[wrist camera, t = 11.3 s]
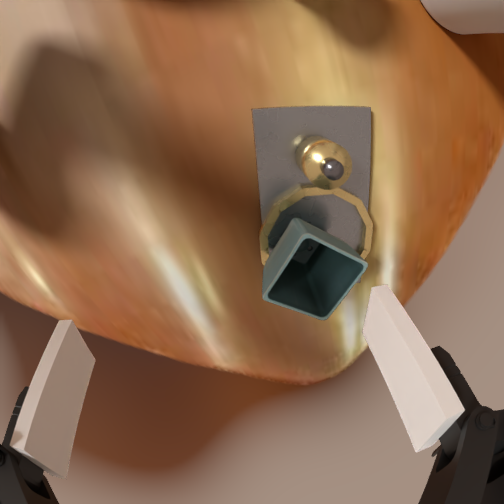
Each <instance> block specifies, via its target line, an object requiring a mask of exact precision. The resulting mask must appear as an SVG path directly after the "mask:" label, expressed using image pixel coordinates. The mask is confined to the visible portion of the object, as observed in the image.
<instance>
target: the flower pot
mask: <svg viewBox="0 0 504 504" xmlns="http://www.w3.org/2000/svg"><path fill="white" fill-rule="evenodd" d="M308 247H311V249H310V250H308ZM367 267H368V263H367V262H366V261H365V260H364V259H363V258H362V257H361V256H360V255H359V254H358V253H357V252H356V251H355V250H354V249H353V248H352V247H351V246H349V245H348V244H347V243H346V242H344V241H342V240H341V239H339V238H337V237H335V236H333V235H331V234H329V233H327V232H325V231H323V230H321V229H319V228H317V227H315V226H313V225H311V224H309V223H307V222H305V221H303V220H301V219H300V218H293V219H292V220H291V221H290V223H289V225H288V226H287V228H286V230H285V231H284V233H283V235H282V236H281V238H280V239H279V241H278V243H277V244H276V246H275V248H274V249H273V251H272V252H271V254H270V255H269V257H268V259H267V261H266V263H265V266H264V270H263V286H262V298H263V300H265V301H267V302H270V303H273V304H276V305H279V306H282V307H285V308H288V309H291V310H294V311H297V312H300V313H302V314H305V315H308V316H311V317H314V318H316V319H319V320H327V319H328V318H329V316H330V315H331V314H332V313H333V312H334V310H335V309H336V308H337V306H338V305H339V304H340V303H341V301H342V300H343V299H344V298H345V296H346V295H347V294H348V292H349V291H350V290H351V288H352V287H353V286H354V284H355V283H356V282H357V281H358V279H359V278H360V277H361V276H362V274H363V273H364V272H365V271H366V269H367Z"/></svg>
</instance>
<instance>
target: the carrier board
mask: <svg viewBox="0 0 504 504" xmlns="http://www.w3.org/2000/svg"><path fill="white" fill-rule="evenodd" d="M252 118H253V130H254V141H255V152H256V164H257V175H258V187H259V199H260V211H261V224H262V226H261V228H260V230H259V241H260V253H261V262H262V264H263V265H264V266H265V263H266V261H267V259H268V257H269V255H270V254H271V252H272V251H273V249H274V248H275V246H276V244H277V243H278V241H279V239H280V238H281V236H282V235H283V233H284V231H285V230H286V228H287V226H288V225H289V223H290V221H291V220H292V219H293V218H300V219H301V220H303V221H305V222H307V223H309V224H311V225H313V226H315V227H317V228H319V229H321V230H323V231H325V232H327V233H329V234H331V235H333V236H335V237H337V238H339V239H341V240H342V241H344V242H346V243H347V244H348V245H349V246H351V247H352V248H353V249H354V250H355V251H356V252H357V253H358V254H359V255H360V256H361V257H362V258H363V259H365V258H366V256H367V255H368V253H369V252H370V250H371V241H372V232H373V222H372V220H371V218H370V216H369V214H368V201H369V184H370V158H371V107H364V106H291V107H272V108H257V109H252ZM310 249H311V247H308V250H310ZM360 280H361V277H360V278H359V279H358V281H357V282H356V283H360Z"/></svg>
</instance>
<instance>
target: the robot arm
mask: <svg viewBox="0 0 504 504" xmlns="http://www.w3.org/2000/svg"><path fill="white" fill-rule="evenodd" d="M362 333H363V335H364V337H365V339H366V341H367V343H368V345H369V348H370V350H371V352H372V354H373V356H374V358H375V360H376V362H377V364H378V366H379V369H380V371H381V373H382V375H383V377H384V379H385V382H386V384H387V386H388V388H389V390H390V393H391V395H392V397H393V399H394V402H395V404H396V406H397V408H398V411H399V413H400V416H401V418H402V420H403V423H404V425H405V427H406V430H407V432H408V435H409V437H410V439H411V442H412V444H413V447H414V449H415V452H419V451H421V450H423V449H426V448H428V447H430V446H432V445H434V443H436V441H437V440H438V439H439V440H440V442H441V445H440V446H439V447H438V448H437V449H436V450H435V451H434V452H433V454H432V456H435V455H436V454H437V456H436V460H435V462H434V465H433V469H432V471H431V474H430V476H429V479H428V482H427V484H426V487H425V489H424V492H423V494H422V497H421V499H420V501H419V503H418V504H504V409H503V410H498V411H493V410H492V409H490V408H488V407H486V406H482V405H480V403H479V402H478V401H477V399H476V397H475V395H474V394H473V392H472V390H471V388H470V387H469V385H468V383H467V382H466V380H465V378H464V377H463V375H462V374H461V373H460V370H459V368H458V367H457V366H456V365H455V362H454V360H453V359H452V357H451V356H450V354H449V353H448V352H446V351H445V350H444V349H443V348H441V347H440V346H438V347H435V348H432V349H430V348H429V347H428V345H427V343H426V342H425V340H424V339H423V337H422V336H421V334H420V332H419V331H418V329H417V328H416V326H415V325H414V323H413V322H412V320H411V319H410V317H409V316H408V314H407V313H406V311H405V310H404V308H403V307H402V305H401V304H400V302H399V301H398V299H397V298H396V296H395V295H394V294H393V292H392V291H391V289H390V288H389V286H388V285H381V286H376V287H372V288H371V293H370V299H369V303H368V308H367V313H366V318H365V322H364V327H363V331H362ZM94 363H95V358H94V357H93V355H92V353H91V352H90V350H89V349H88V347H87V345H86V344H85V342H84V340H83V338H82V337H81V335H80V333H79V331H78V330H77V328H76V326H75V324H74V322H73V321H72V320H59V322H58V324H57V326H56V328H55V331H54V332H53V334H52V336H51V338H50V341H49V343H48V345H47V347H46V349H45V351H44V354H43V356H42V358H41V360H40V363H39V365H38V367H37V370H36V372H35V375H34V377H33V379H32V382H31V384H30V387H25V388H24V390H23V391H22V392H21V394H20V395H19V397H18V399H17V402H16V407H15V408H14V410H13V415H12V416H11V419H10V422H9V425H8V428H7V431H6V434H5V437H4V441H3V443H2V445H1V444H0V504H59V503H58V501H57V499H56V497H55V495H54V493H53V491H52V489H51V487H50V485H49V483H48V481H47V479H46V477H45V476H44V475H43V471H46V472H47V473H49V474H50V475H52V476H56V477H59V478H63V479H66V478H67V472H68V467H69V461H70V456H71V451H72V447H73V441H74V437H75V432H76V429H77V425H78V420H79V416H80V412H81V408H82V404H83V401H84V397H85V394H86V390H87V387H88V383H89V379H90V376H91V373H92V370H93V367H94Z"/></svg>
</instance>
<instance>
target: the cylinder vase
mask: <svg viewBox="0 0 504 504" xmlns="http://www.w3.org/2000/svg"><path fill="white" fill-rule="evenodd" d="M420 1H421V2H422V4H423V6H424V7H425V9H426V10H427V11H428V13H429V14H430V15H431V16H432V17H433V18H434V19H435V20H436V21H437V22H438V23H439V24H440V25H442V26H443V27H445V28H446V29H448V30H450V31H452V32H454V33H457V34H481V33H504V0H420Z"/></svg>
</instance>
